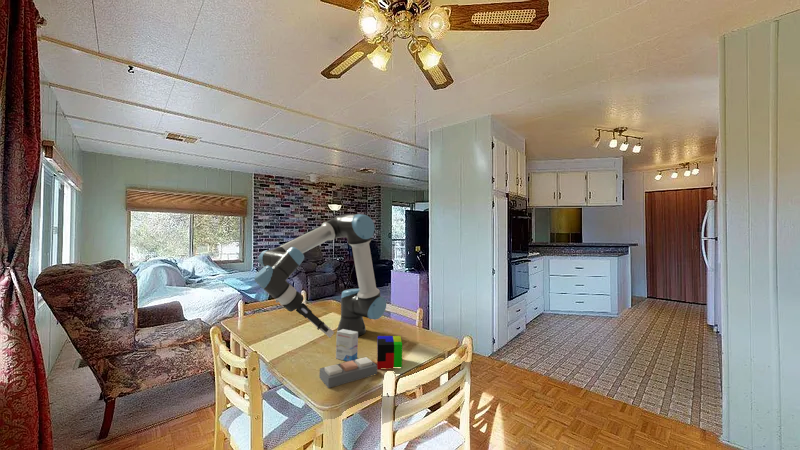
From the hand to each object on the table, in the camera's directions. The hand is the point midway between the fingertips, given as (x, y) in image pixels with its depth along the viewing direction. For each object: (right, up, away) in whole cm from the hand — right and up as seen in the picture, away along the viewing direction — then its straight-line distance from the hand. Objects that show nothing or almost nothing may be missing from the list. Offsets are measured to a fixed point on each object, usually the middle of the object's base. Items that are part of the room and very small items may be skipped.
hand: (325, 330), depth 132 cm
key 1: (+6, -12, -14) cm, 19 cm away
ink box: (+8, -14, +6) cm, 17 cm away
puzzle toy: (+26, -15, +1) cm, 30 cm away
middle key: (+11, -12, -10) cm, 20 cm away
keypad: (+11, -14, -10) cm, 21 cm away
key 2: (+17, -12, -7) cm, 22 cm away
